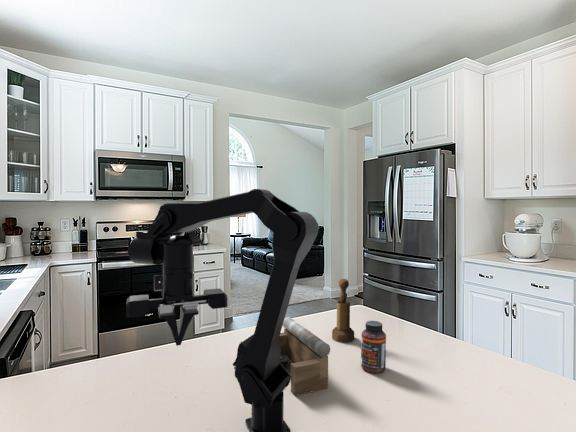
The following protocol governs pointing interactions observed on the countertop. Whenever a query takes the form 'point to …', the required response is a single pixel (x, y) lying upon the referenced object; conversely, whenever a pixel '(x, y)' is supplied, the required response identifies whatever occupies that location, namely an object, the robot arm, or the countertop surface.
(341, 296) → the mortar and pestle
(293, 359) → the cradle
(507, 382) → the countertop surface
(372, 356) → the supplement bottle
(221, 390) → the countertop surface
